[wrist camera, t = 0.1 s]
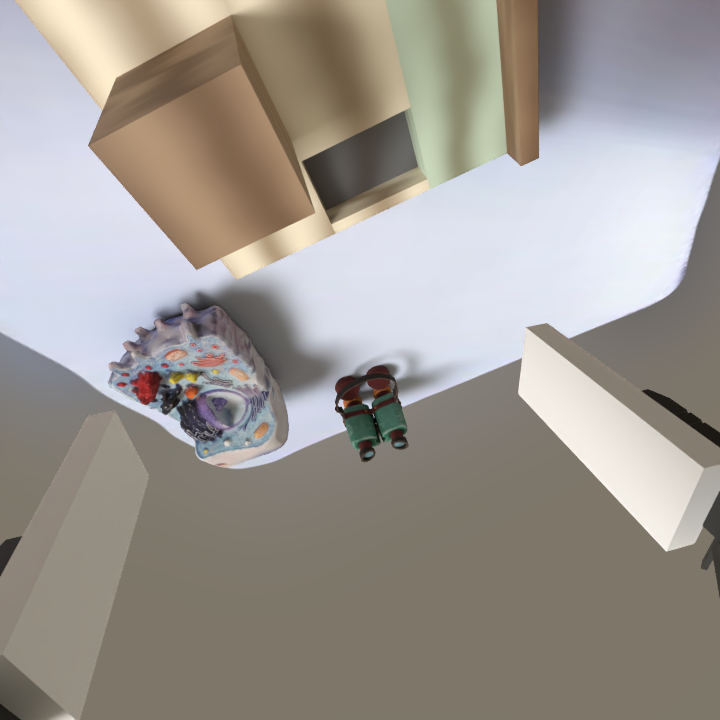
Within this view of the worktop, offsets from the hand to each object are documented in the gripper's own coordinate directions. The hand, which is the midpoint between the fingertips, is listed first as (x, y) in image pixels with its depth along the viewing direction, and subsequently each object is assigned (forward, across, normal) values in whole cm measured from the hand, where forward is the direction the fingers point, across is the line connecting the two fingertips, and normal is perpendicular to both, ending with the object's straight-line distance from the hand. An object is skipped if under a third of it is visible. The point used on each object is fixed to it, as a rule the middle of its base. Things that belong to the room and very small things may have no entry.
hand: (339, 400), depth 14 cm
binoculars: (+38, +6, -26) cm, 46 cm away
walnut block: (+23, -4, +8) cm, 25 cm away
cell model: (+35, -11, -16) cm, 40 cm away
